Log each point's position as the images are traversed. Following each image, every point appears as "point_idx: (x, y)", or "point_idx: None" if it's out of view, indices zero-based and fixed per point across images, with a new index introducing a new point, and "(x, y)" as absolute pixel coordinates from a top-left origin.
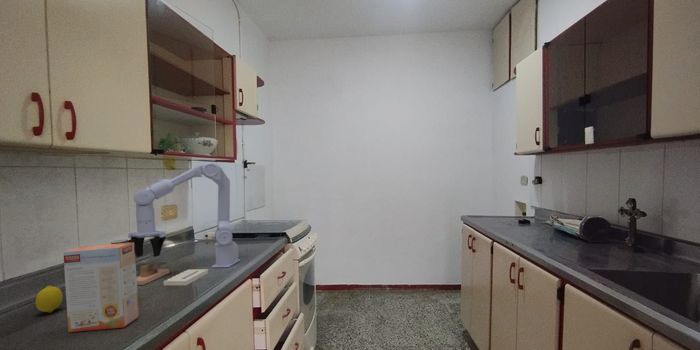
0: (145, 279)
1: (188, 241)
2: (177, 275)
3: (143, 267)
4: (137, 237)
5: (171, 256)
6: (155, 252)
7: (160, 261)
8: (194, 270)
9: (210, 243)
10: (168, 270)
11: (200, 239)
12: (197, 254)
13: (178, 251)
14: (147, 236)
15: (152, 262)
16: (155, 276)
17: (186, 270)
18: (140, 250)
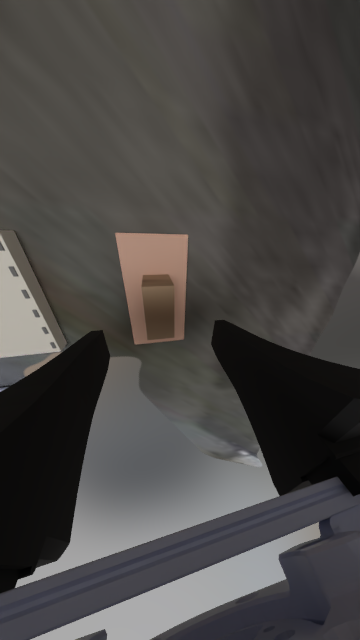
0: (120, 249)
1: (254, 448)
2: (23, 300)
3: (155, 284)
4: (339, 483)
5: (233, 408)
6: (72, 348)
7: None
8: (16, 347)
9: (207, 454)
10: (134, 340)
11: (240, 456)
12: (183, 424)
13: (239, 424)
14: (168, 570)
15: (167, 336)
16: (126, 292)
17: (49, 343)
18: (228, 358)
